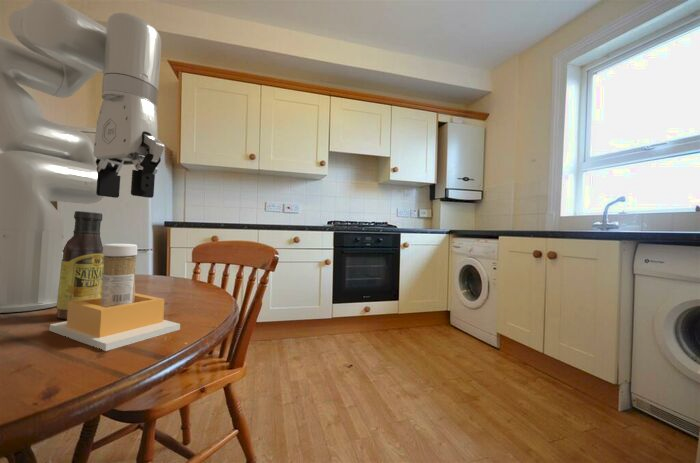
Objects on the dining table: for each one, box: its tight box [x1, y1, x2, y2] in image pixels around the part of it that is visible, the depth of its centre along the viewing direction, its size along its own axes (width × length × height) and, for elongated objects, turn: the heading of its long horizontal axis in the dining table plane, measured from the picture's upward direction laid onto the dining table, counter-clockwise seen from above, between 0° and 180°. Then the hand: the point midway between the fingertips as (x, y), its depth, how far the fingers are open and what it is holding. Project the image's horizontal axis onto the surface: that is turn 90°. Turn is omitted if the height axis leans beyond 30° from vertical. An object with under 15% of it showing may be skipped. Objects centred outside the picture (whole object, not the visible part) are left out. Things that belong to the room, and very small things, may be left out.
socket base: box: [49, 292, 181, 352], centre depth 49 cm, size 16×11×5 cm
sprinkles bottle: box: [101, 243, 138, 308], centre depth 49 cm, size 5×5×13 cm
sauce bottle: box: [56, 210, 104, 320], centre depth 56 cm, size 7×6×20 cm
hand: (124, 196), depth 49 cm, fingers open, 9 cm apart
